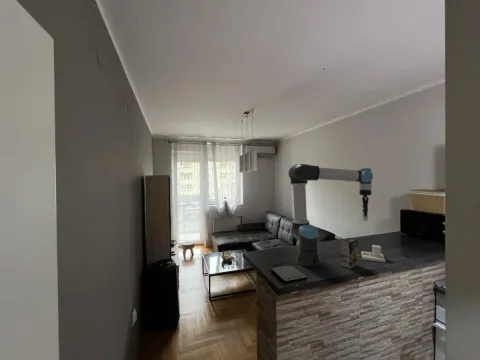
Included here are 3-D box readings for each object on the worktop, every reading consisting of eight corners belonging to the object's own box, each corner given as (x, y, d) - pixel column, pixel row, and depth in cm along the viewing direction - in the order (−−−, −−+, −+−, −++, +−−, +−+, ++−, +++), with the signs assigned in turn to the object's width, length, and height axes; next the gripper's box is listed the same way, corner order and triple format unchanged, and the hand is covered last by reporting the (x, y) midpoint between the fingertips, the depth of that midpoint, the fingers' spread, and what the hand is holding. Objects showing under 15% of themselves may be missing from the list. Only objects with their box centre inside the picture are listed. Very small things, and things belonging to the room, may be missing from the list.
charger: (373, 258, 150) (373, 246, 150) (372, 256, 154) (372, 244, 154) (380, 259, 148) (380, 247, 148) (379, 257, 152) (379, 245, 152)
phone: (353, 257, 154) (353, 256, 154) (346, 251, 165) (346, 250, 165) (361, 257, 153) (361, 256, 153) (354, 251, 164) (354, 250, 164)
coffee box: (350, 268, 134) (350, 242, 134) (340, 265, 140) (340, 240, 139) (358, 265, 140) (358, 239, 139) (348, 261, 145) (348, 237, 144)
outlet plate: (362, 259, 149) (362, 256, 149) (361, 253, 160) (361, 251, 160) (385, 262, 143) (385, 259, 143) (382, 256, 154) (382, 253, 154)
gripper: (372, 190, 147) (372, 222, 147) (370, 188, 169) (370, 216, 169) (359, 190, 150) (359, 221, 151) (359, 188, 172) (358, 215, 173)
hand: (365, 218), depth 160 cm, fingers open, 13 cm apart
